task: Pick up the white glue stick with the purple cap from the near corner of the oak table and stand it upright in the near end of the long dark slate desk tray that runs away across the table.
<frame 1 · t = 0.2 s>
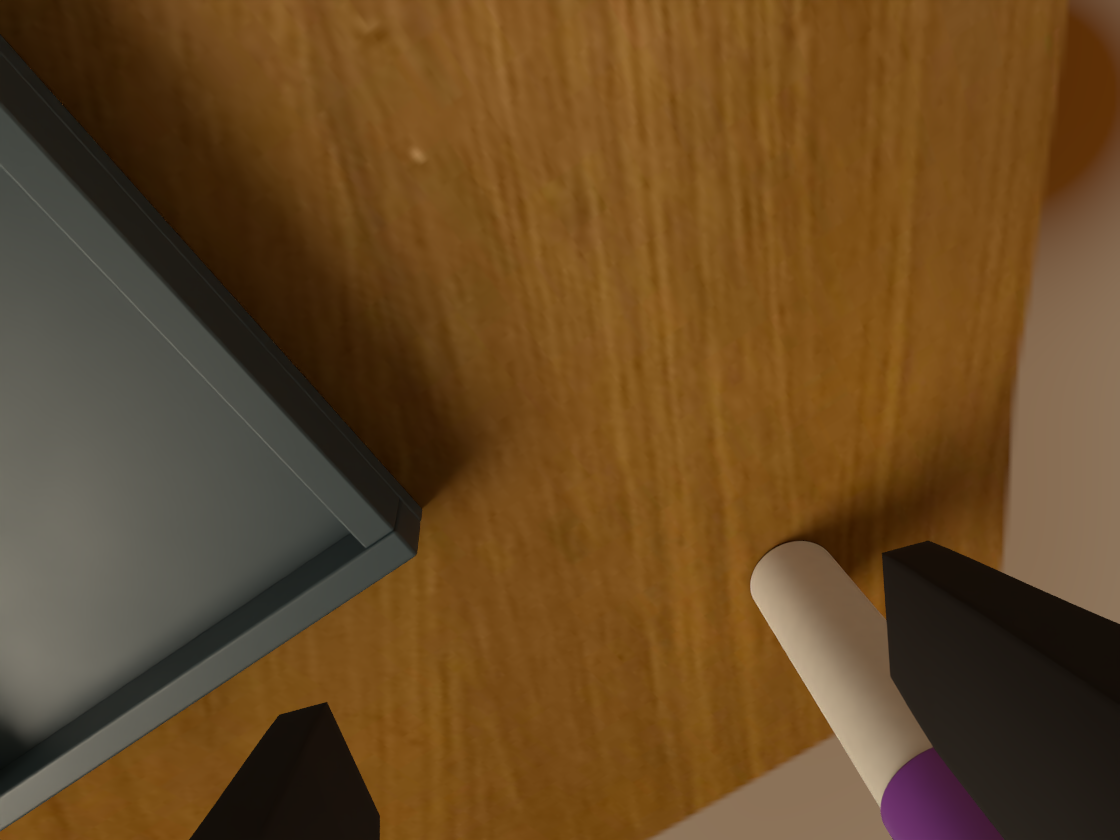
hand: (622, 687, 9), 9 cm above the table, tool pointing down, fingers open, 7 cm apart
glue stick: (792, 578, 20), on the table
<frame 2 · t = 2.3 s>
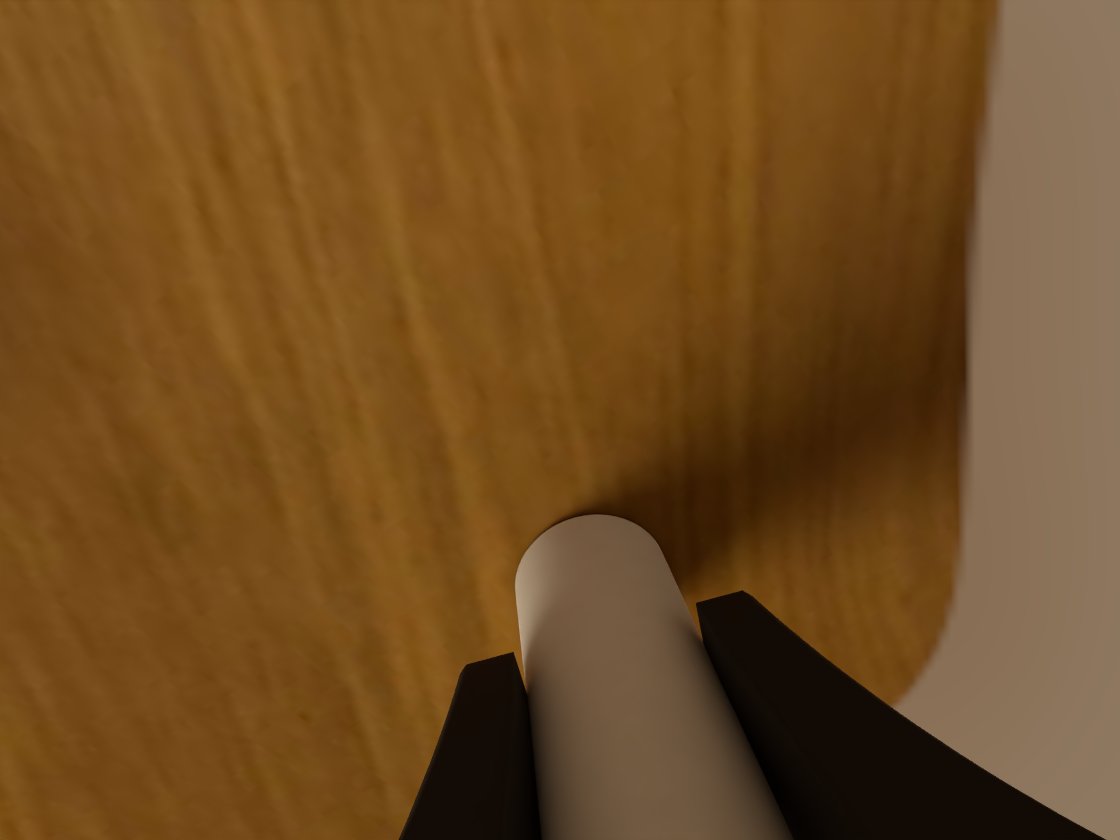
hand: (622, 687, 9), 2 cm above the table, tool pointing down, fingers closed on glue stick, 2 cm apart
glue stick: (591, 580, 12), on the table, touching gripper
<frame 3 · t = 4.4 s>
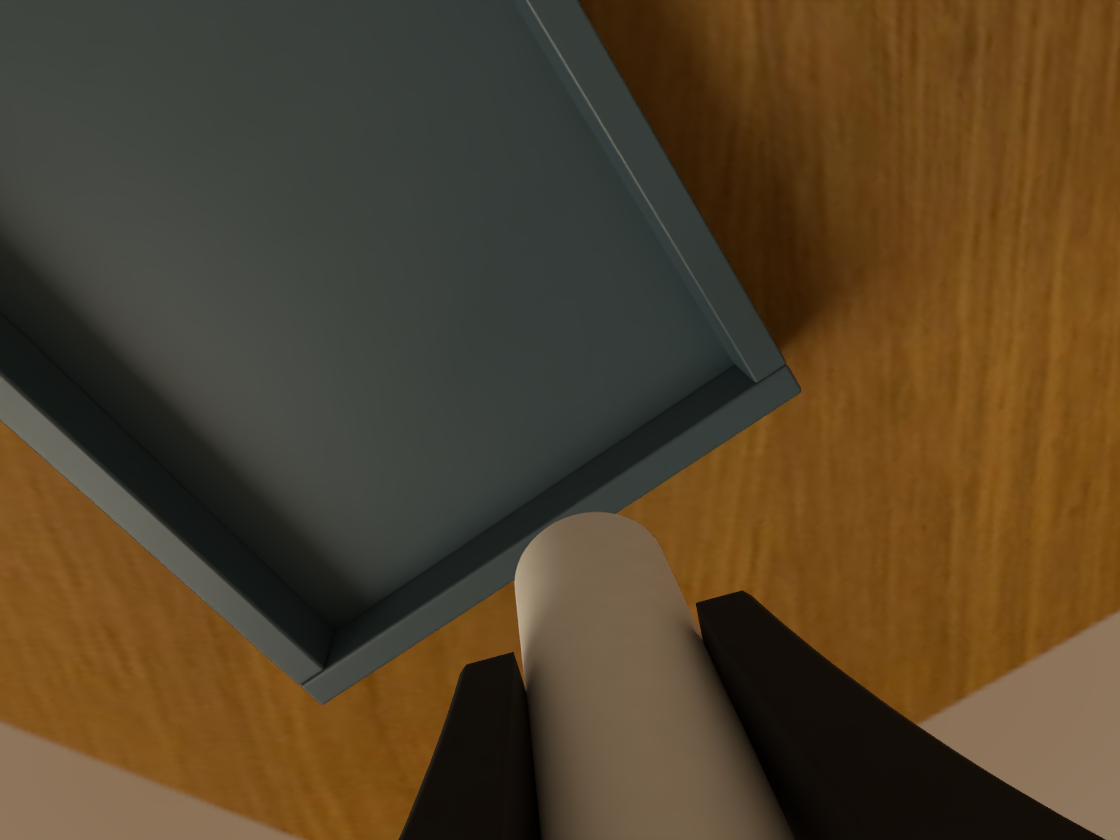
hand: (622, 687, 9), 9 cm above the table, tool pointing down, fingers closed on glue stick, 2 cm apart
glue stick: (590, 577, 12), point 7 cm above the table, touching gripper
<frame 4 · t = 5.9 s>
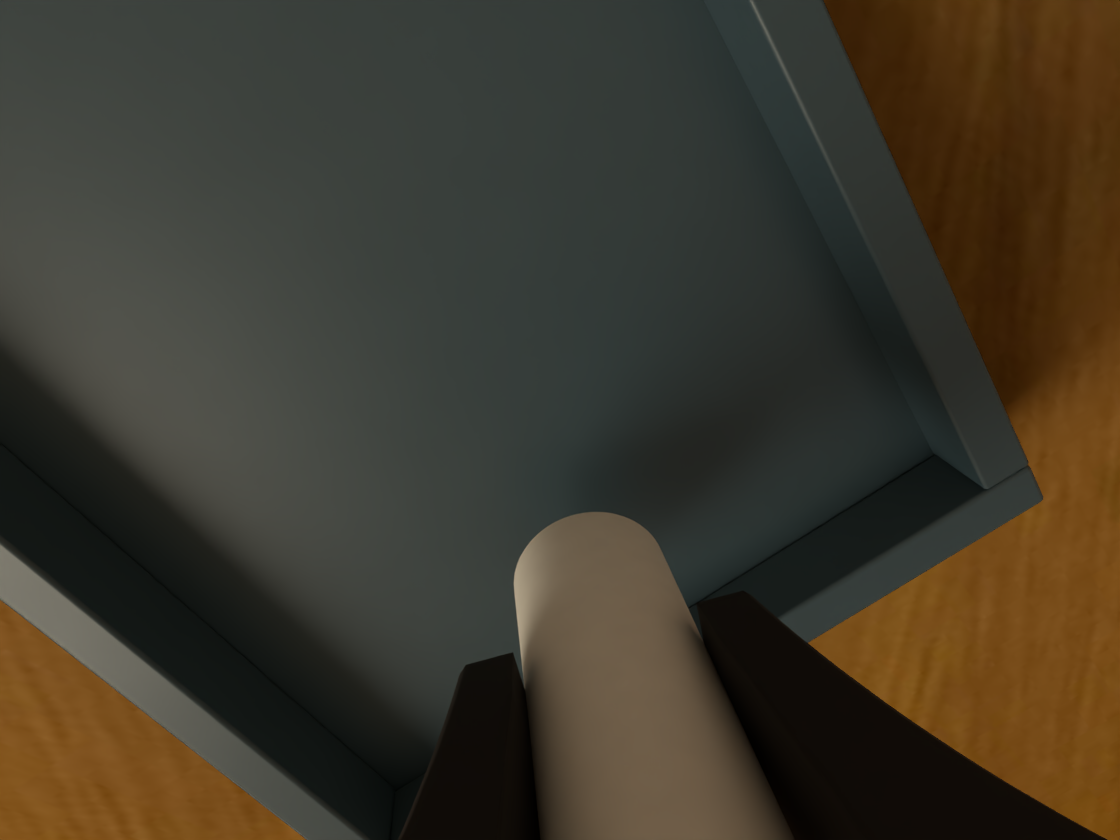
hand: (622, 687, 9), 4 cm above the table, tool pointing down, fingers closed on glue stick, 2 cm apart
glue stick: (589, 577, 12), point 2 cm above the table, touching gripper
when the fingers open (3 cm above the table, at t = 6.7 s): glue stick stays where it is, resting on desk tray.
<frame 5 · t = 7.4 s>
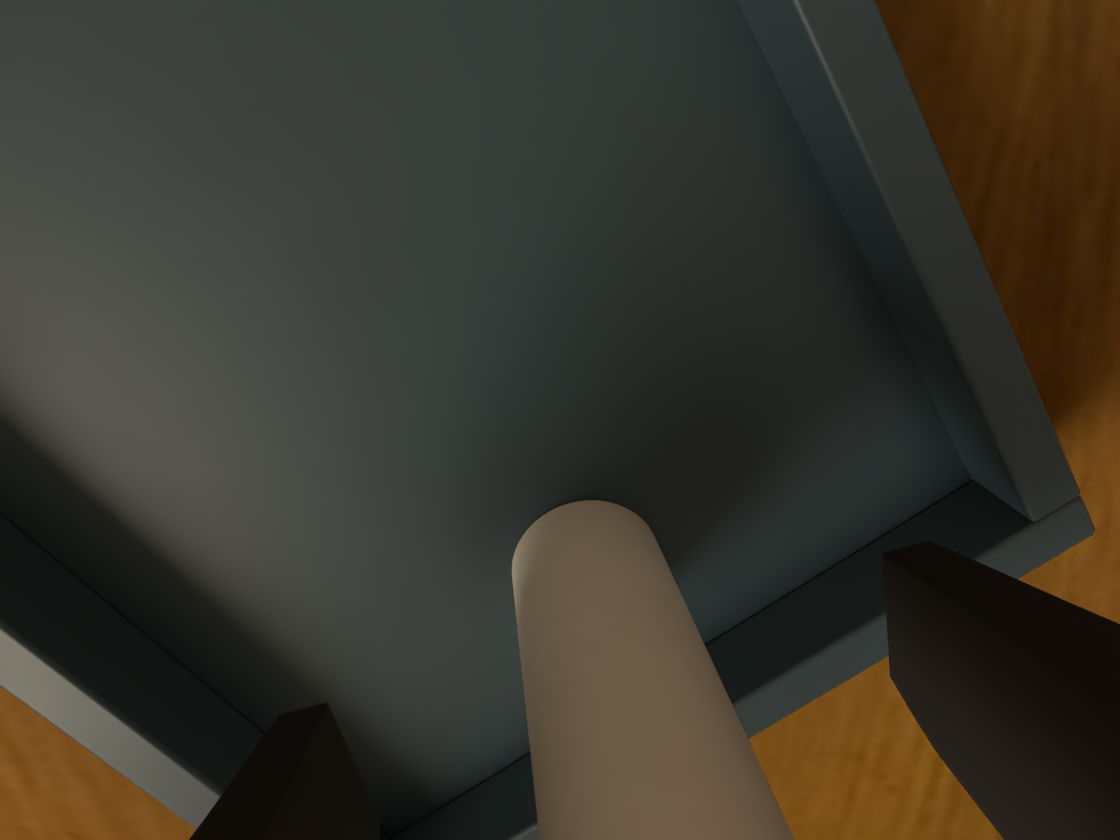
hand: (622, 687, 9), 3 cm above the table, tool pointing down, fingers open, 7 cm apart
glue stick: (585, 565, 12), point 1 cm above the table, touching desk tray
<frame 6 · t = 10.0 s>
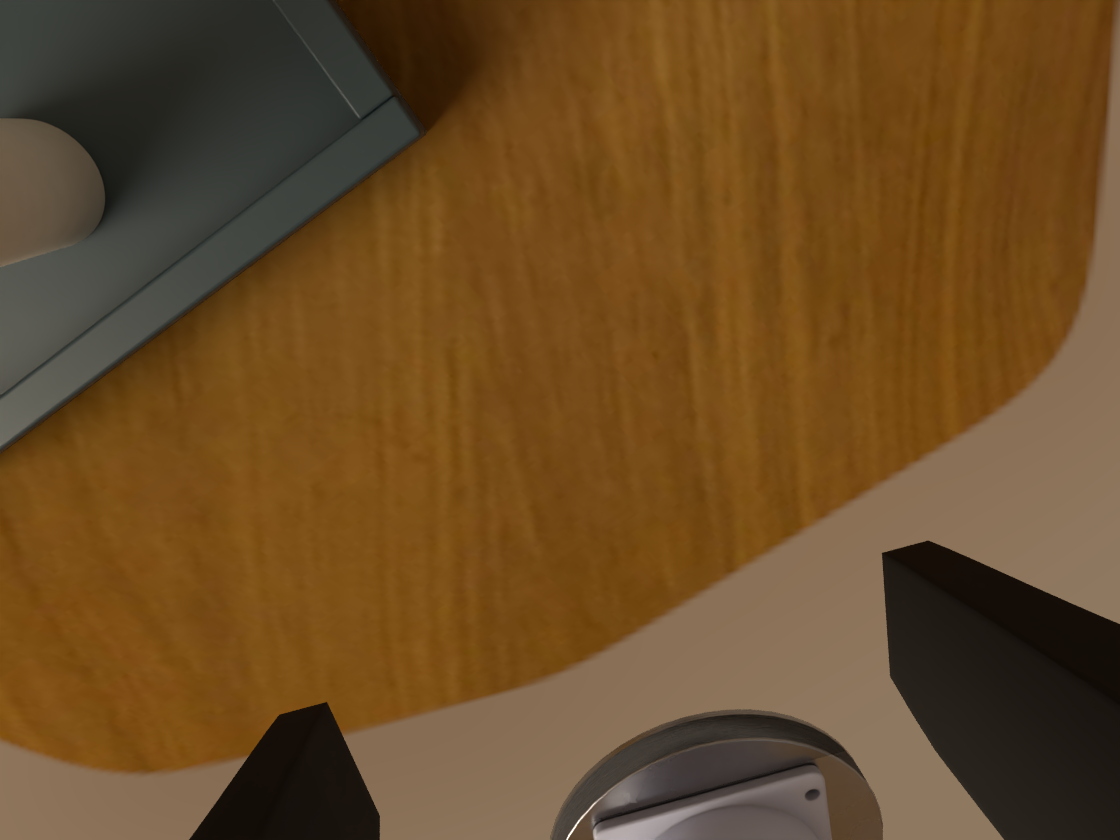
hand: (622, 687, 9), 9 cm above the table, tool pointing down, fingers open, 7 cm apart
glue stick: (39, 185, 14), point 1 cm above the table, touching desk tray
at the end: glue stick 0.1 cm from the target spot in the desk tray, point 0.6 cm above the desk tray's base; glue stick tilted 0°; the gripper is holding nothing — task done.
